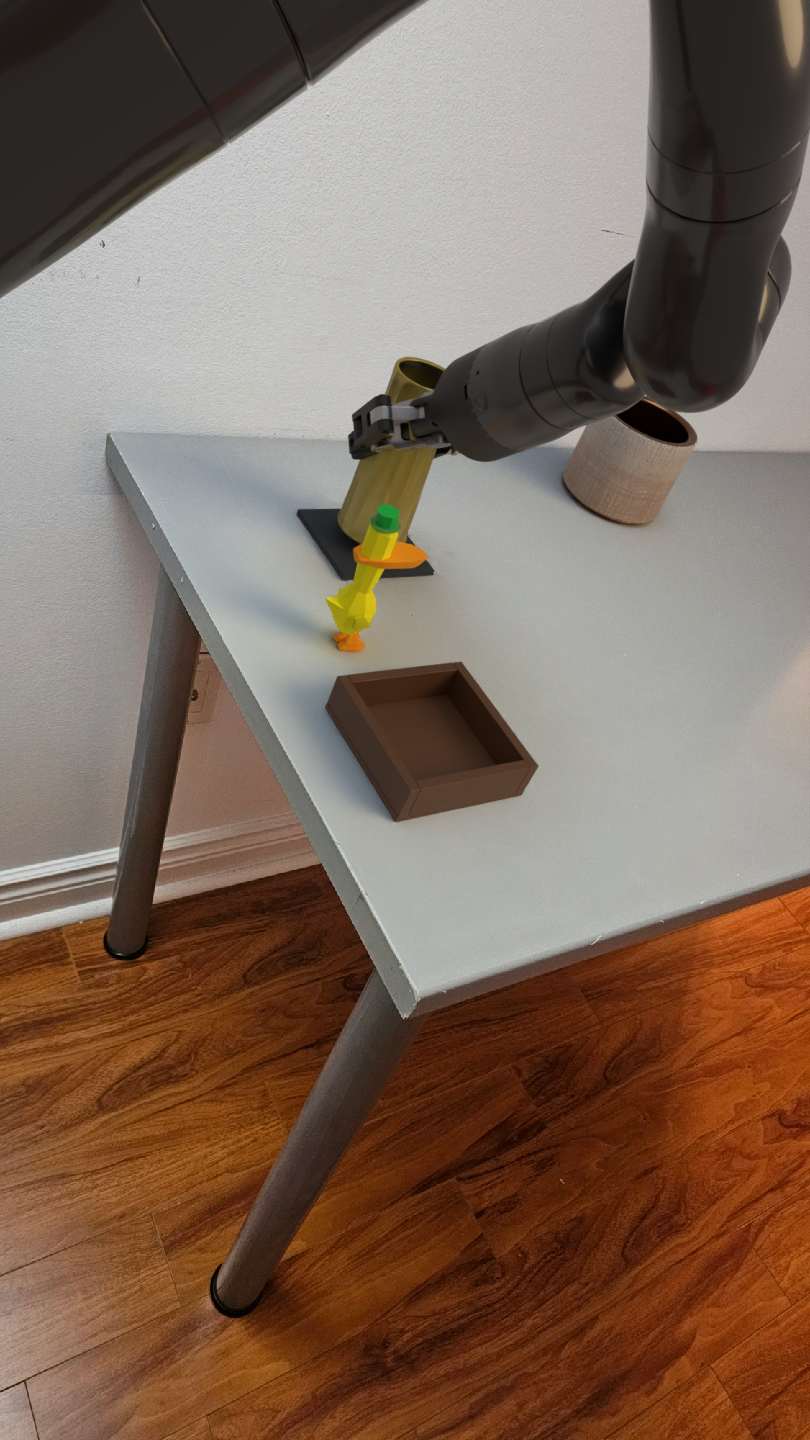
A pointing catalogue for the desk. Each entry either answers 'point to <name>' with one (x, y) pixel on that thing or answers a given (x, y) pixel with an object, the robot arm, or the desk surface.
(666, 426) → the planter
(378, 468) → the vase
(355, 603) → the toy figure
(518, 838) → the desk surface
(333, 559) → the mat
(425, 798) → the tray
